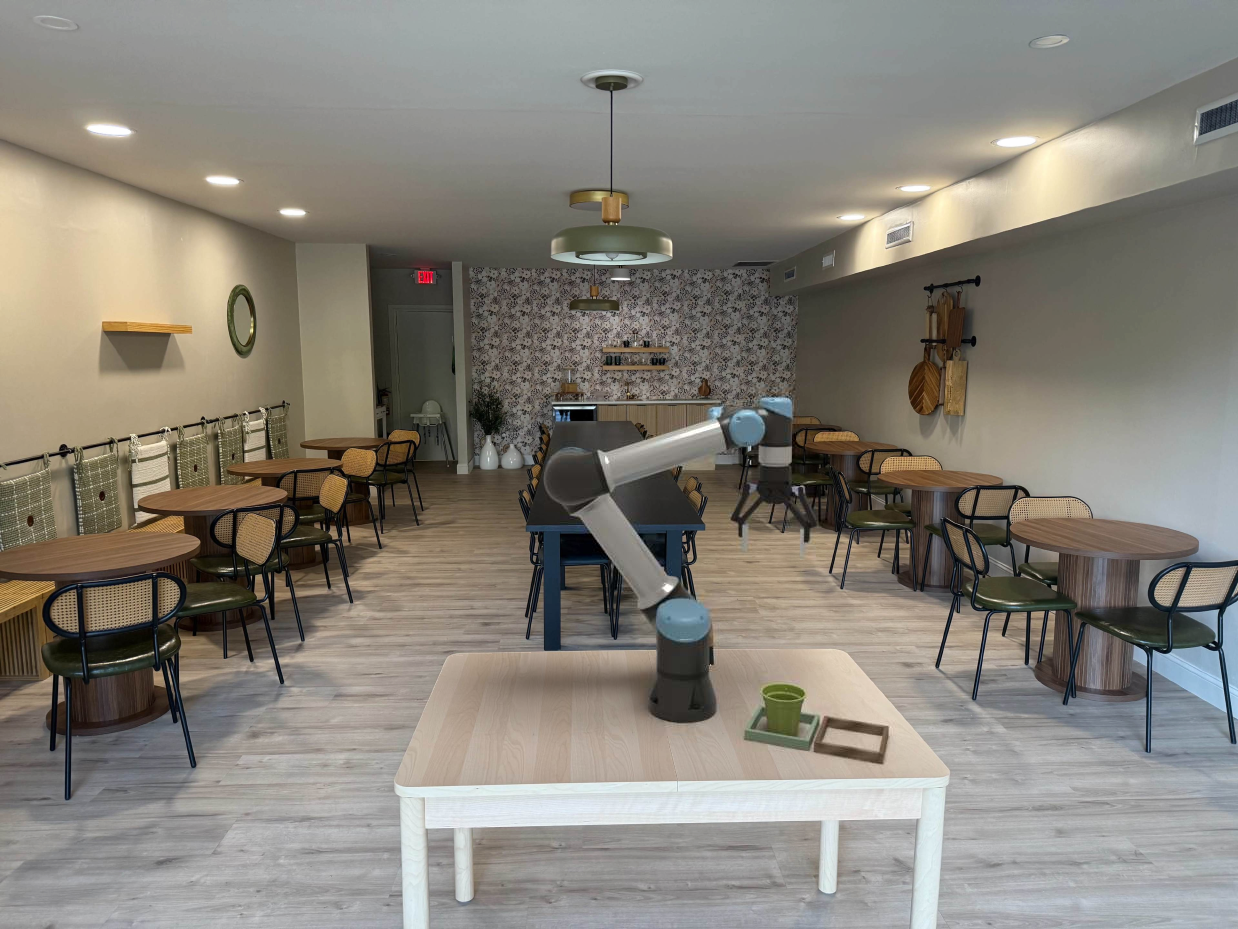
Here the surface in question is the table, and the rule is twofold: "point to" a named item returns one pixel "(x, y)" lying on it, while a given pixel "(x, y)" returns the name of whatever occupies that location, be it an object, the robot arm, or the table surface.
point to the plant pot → (783, 707)
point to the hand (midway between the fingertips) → (773, 553)
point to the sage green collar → (778, 738)
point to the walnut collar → (847, 750)
